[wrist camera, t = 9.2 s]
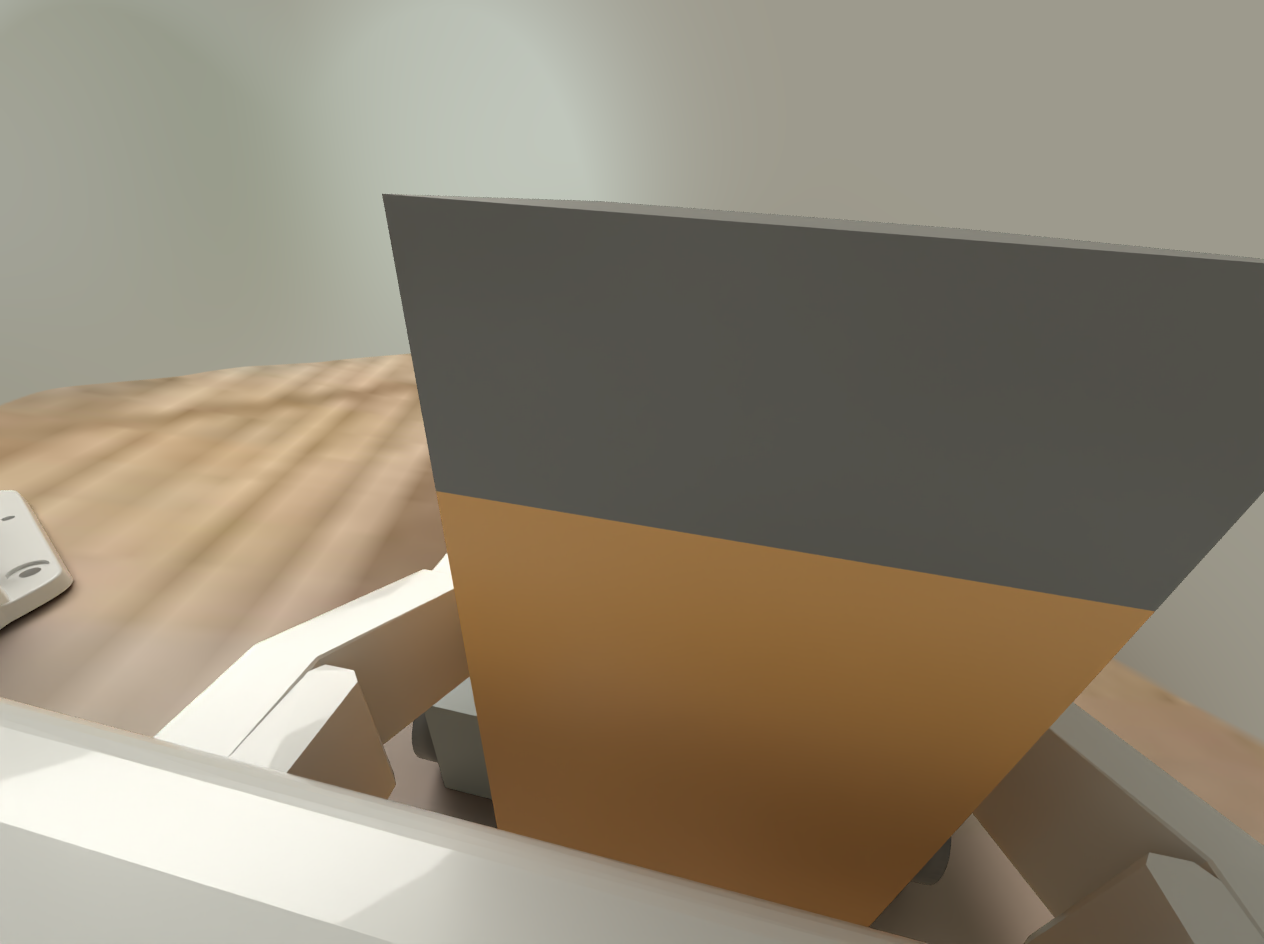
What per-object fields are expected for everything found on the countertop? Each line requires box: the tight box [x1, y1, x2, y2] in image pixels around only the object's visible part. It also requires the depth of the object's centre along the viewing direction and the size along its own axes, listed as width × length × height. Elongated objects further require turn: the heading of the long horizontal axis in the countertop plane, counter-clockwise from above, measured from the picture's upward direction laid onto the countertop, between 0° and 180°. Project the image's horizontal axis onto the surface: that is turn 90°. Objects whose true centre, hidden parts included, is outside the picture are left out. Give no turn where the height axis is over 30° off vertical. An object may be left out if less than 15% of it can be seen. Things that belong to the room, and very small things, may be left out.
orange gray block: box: [382, 194, 1264, 927], centre depth 7 cm, size 5×5×12 cm
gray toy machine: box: [412, 677, 951, 885], centre depth 20 cm, size 21×20×8 cm
